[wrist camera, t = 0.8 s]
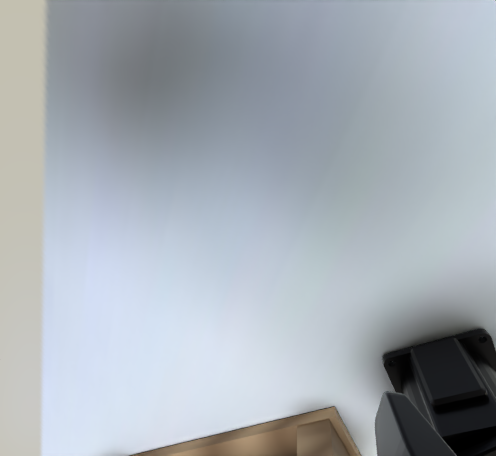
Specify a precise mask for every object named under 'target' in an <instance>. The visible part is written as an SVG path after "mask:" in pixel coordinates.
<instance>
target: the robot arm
mask: <svg viewBox="0 0 496 456" xmlns="http://www.w3.org/2000/svg"><path fill="white" fill-rule="evenodd" d="M480 337H482V338H480ZM479 338H480V339H479ZM382 360H383V364H384V367H385V369H386V371H387V374H388V376H389V378H390V380H391V382H392V385H393V387H394V389H395V391H396V392H389V391H386V392H384V394H383V396H382V399H381V402H380V405H379V408H378V411H377V415H376V418H375V434H376V445H377V455H378V456H496V351H495V348H494V345H493V341H492V338H491V336H490V335H489V333H488V332H487V331H486V330H484V329H477V330H473V331H469V332H466V333H462V334H458V335H455V336H451V337H447V338H444V339H440V340H436V341H433V342H429V343H425V344H421V345H418V346H414V347H410V348H407V349H403V350H399V351H396V352H392V353H388V354H386V355H384V356H383V358H382ZM389 361H392V362H389Z"/></svg>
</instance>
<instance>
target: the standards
mask: <svg viewBox="0 0 496 456" xmlns="http://www.w3.org/2000/svg"><path fill="white" fill-rule="evenodd" d="M131 456H361V454H360V453H359V451H358V449H357V447H356V445H355V443H354V442H353V440H352V438H351V436H350V434H349V432H348V430H347V429H346V427H345V425H344V423H343V421H342V419H341V418H340V416H339V414H338V412H337V410H336V408H335V407H330V408H326V409H322V410H318V411H314V412H310V413H305V414H301V415H297V416H293V417H289V418H285V419H281V420H276V421H272V422H268V423H264V424H260V425H256V426H251V427H247V428H243V429H239V430H235V431H231V432H227V433H222V434H218V435H214V436H210V437H206V438H202V439H197V440H193V441H189V442H185V443H181V444H177V445H173V446H168V447H164V448H160V449H156V450H152V451H148V452H144V453H139V454H135V455H131Z"/></svg>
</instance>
